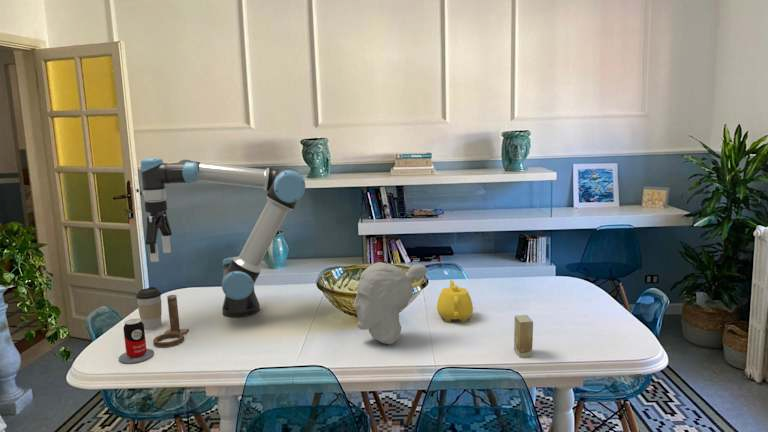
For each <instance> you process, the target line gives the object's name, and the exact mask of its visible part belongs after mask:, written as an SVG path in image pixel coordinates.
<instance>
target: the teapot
mask: <svg viewBox="0 0 768 432" xmlns="http://www.w3.org/2000/svg"><path fill="white" fill-rule="evenodd" d="M436 304H437V305H436V310H437V313H438V315H439V317H441V318H442V319H444V322H445V323H450V322H452V320H460V322H461V323H464V322H465V323H466V322H467V321H468V319H469V318H470V317H471V316H472V315H473V311H474V306H473V302H472V299H471V296H470V294H469V292H468V290H467V289H466V288H465V287H459V286H458V285H455V282H454V280H452V279H451V280H450V281H449V287H444V288H442V289H441V291H440V293H439V296H438V299H437V303H436Z"/></svg>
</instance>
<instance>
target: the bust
mask: <svg viewBox="0 0 768 432" xmlns="http://www.w3.org/2000/svg"><path fill="white" fill-rule="evenodd" d="M426 274H427V267H426V266H425V265H423V264H419V263H416V264H413V265H411V266H410V267H409V268H408V270H407V271H406V272H405V271H404V270H403V269H401V268H400V267H398V266H396V265H395V264H391V263H386V262H383V261H381V262H378V261H377V262H375V263H373V264H371V265H369V266H367V267H366V268H365V269H364V270H363V271H362V272H361V274H360V278H359V280H358V283H357V288H356V295H355V300H354V302H353V304H352V306H353V308H354V309H355V310H356V315H357V319H358V321H357V328H358V329H360V330H368V333H369V335H371V337H372V339H373V340H376V341H378V342H380V343H381V344H384V345H385V344H386V345H392V344H394V343H395V342H397V340H398V339H399V338H400V335H401V332H402V325H401V323H400V311H401V309H402V308H404V307H405V306H406V305H407V304H408V302H409V301H410V300H411V298H412V296H413V293H414V287H413V283H412V282H414V281H419V280H422V279H423V278H425V276H426Z"/></svg>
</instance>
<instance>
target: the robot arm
mask: <svg viewBox="0 0 768 432" xmlns="http://www.w3.org/2000/svg"><path fill="white" fill-rule="evenodd" d="M140 174H141V182H142V191H143V192H142V195H143V199H144V201H145V202H144V209H145V210H144V211H145V212H146V213H149V214H150V215H149V216H146V233H145V234H146V235H145V245H148V248H149V249H148V250H149V258H150V263H154V262H155V263H157V262H158V263H159V262H160V259H159V257H160V256H159V249H158V243H157V239H158V235H159V233H158V232H159V231H160V232H161V233H160V234H161V235H162V236H161V242H162V243H161V244H162V252H163V254H170V253H172V249H171V247H172V246H171V237H170V236H172V235H173V232H172V229H171V226H170V222H169V218H168V215H167V210H168V203H167V192H166V185H168V184H169V185H170V184H186V183H187V184H190V183H192V184H193V183H198V182H206V183H215V184H220V185H221V184H222V185H230V186H238V187H249V188H256V189H263V190H264V191H265V192H267V194H266V195H265V196H266V201H267V202H266V204H265V206H264V208H263V210H262V212H261V214H259V217H258V218H257V221H256V223H255V225H254V226H253V229H252V230H251V233H250V234H249V236H248V238H247V240H246V242H245V244H244V245H243V248H242V250H241V252H240V253H239V255H238V256H230V257H227V258H224V259H223V260H222V268H223V276H222V280H221V284H220V285H221V290H222V291H223V294H224V299H223V304H222V307H221V308H222V309H221V310H222V314H223V316H225V317H230V318H241V317H242V318H244V317H248V316H252V315H254V314H256V313H259V312H260V310H261V305H260V302H259V299H258V297H257V295H256V293H255V283H256V281H257V279H259V278H258V277H259V275H260V274H261V267H260V265H261V264H262V261H263V260H264V258H265V256H266V254H267V252H268V250H269V248H270V246H271V244H272V243H273V240H274V238H275V237H276V235H277V233H278V232H279V229H280V227H281V225H282V224H283V222H284V219H286V217H287V214H288V213H289V212H291V211H293V210H294V209H295V207H296V206H297V204H298V202H299V201H300V200H301V198H302V197H303V196H304V194H305V192H306V183H305V179H304V177H303V176H302V175H301V173H300V172H298V171H297V170H295V169H293V168H289V167H288V168H287V167H286V168H285V167H283V168H282V167H281V168H280V167H279V168H275V167H267V168H265V169H263V168H254V167H246V166H237V165H228V164H222V163H220V164H219V163H213V162H212V163H211V162H204V161H194V160H190V159H182V160H179V161H178V162H172V163H170V162H169V163H166V162H164V161H163V158H161V157H151V158H143V159H142V160H141V161H140Z"/></svg>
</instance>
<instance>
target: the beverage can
mask: <svg viewBox="0 0 768 432" xmlns="http://www.w3.org/2000/svg"><path fill="white" fill-rule="evenodd" d="M122 329H123V335H124V337H123V338H124V345H125V353H126V354H127V356H129V357H131V358H136V357H140V356H143V355H144V354H145V353H146V351H147V349H148V348H147V341H146V340H147V339H146V333H145V332H146V331H145V329H144V324H143V323H142V322H141V318H130V319H128V320H126V321H124V326H123V327H122Z"/></svg>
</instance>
